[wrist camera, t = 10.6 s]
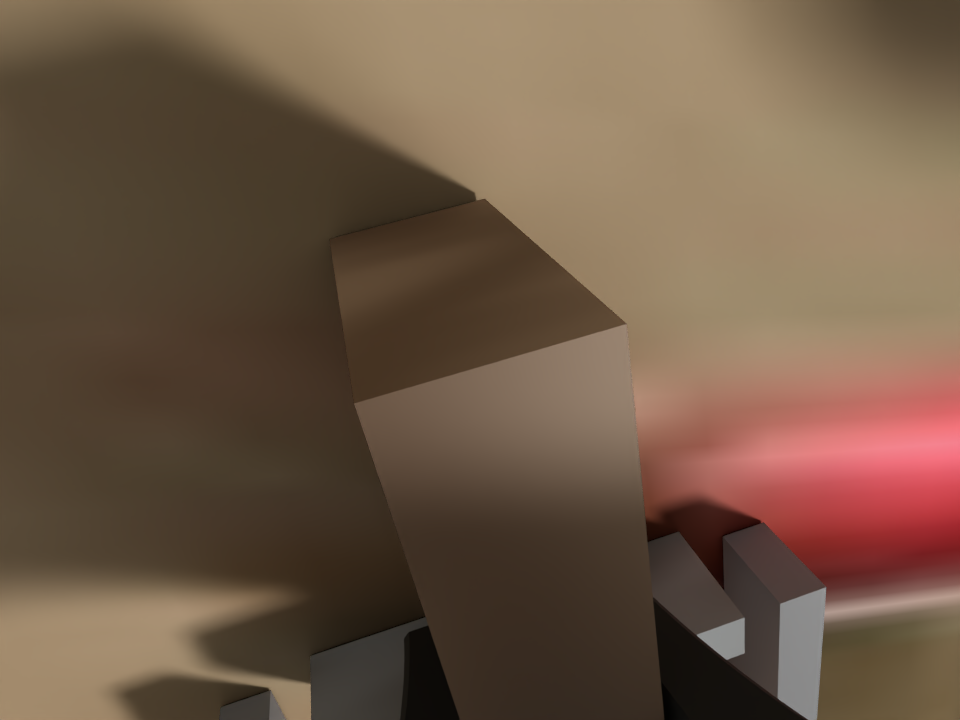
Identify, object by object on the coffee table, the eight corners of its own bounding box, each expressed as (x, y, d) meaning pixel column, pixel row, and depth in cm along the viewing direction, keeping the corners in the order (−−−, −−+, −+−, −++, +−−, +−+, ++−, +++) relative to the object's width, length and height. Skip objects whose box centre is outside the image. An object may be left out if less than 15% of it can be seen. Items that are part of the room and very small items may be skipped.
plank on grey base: (654, 154, 10) (911, 240, 6) (681, 565, 15) (842, 789, 10) (135, 288, 9) (-6, 508, 5) (324, 688, 14) (337, 993, 9)
